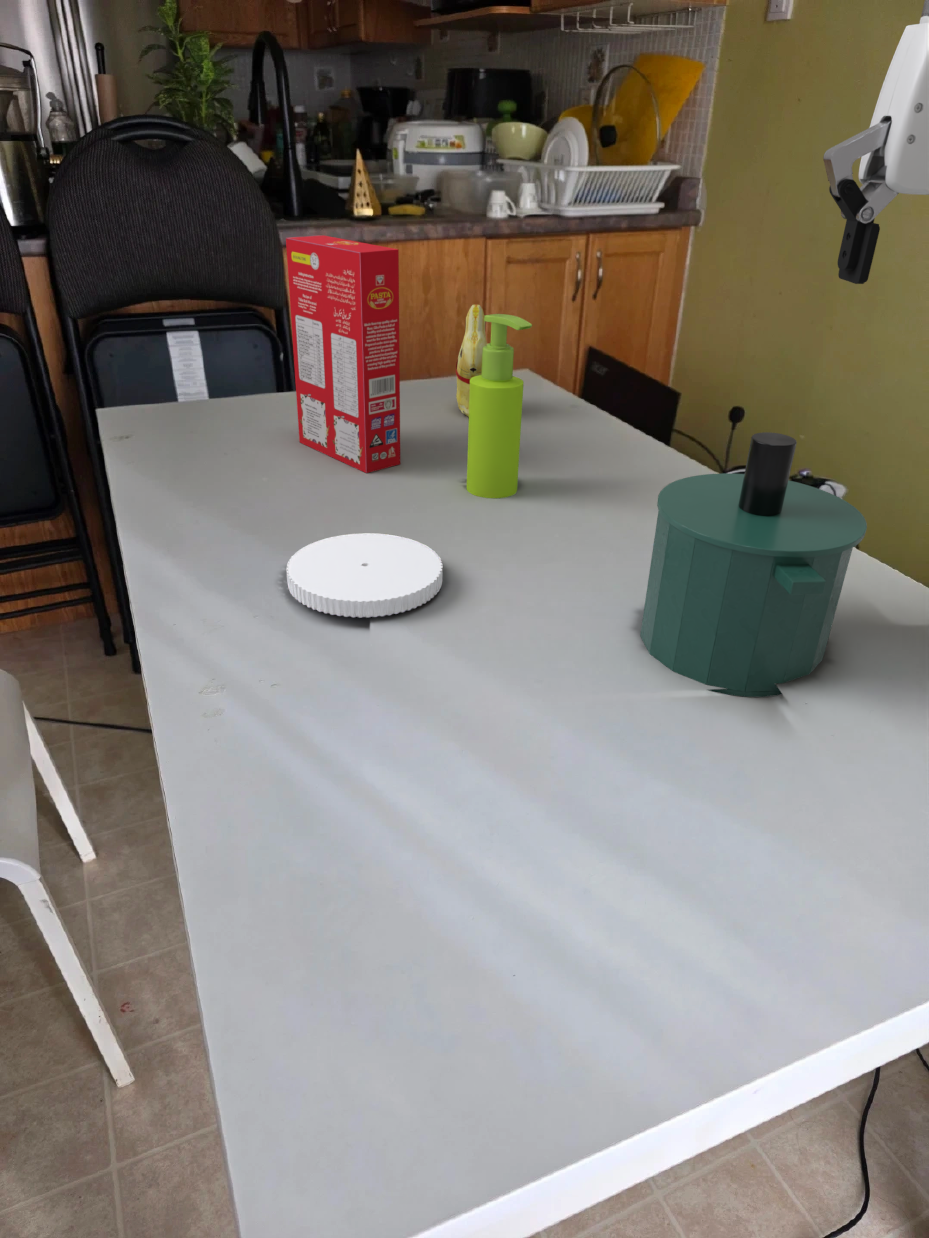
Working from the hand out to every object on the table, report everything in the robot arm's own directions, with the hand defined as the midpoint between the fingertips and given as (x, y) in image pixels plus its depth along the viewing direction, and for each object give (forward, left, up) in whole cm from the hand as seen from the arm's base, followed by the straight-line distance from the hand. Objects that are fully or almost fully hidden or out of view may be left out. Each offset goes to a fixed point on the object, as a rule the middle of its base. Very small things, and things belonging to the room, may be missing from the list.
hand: (913, 282), depth 65 cm
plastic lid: (+41, -7, -28) cm, 50 cm away
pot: (+11, +5, -28) cm, 31 cm away
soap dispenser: (+26, -30, -28) cm, 49 cm away
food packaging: (+43, -45, -28) cm, 68 cm away
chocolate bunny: (+24, -64, -28) cm, 74 cm away
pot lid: (+11, +5, -16) cm, 20 cm away
